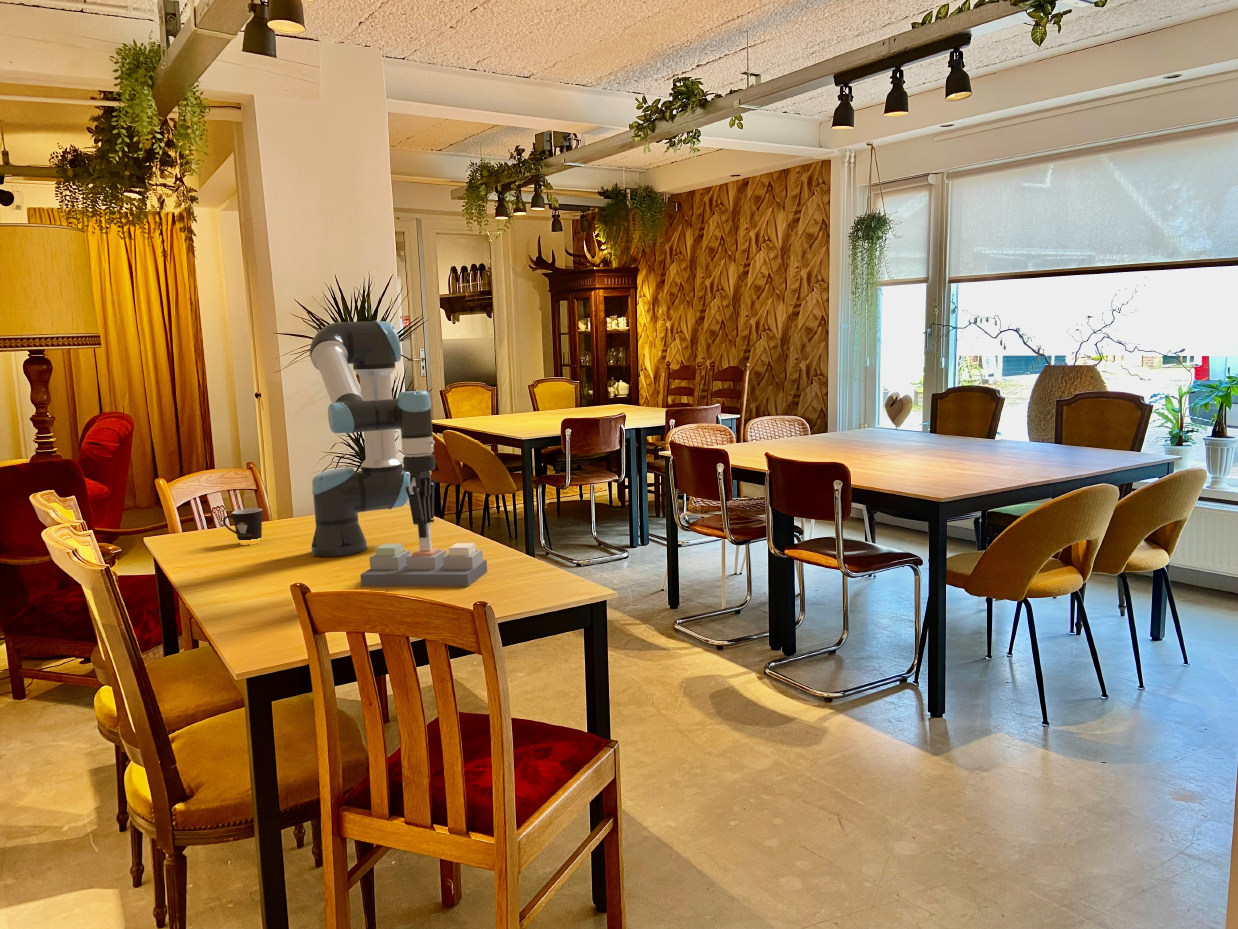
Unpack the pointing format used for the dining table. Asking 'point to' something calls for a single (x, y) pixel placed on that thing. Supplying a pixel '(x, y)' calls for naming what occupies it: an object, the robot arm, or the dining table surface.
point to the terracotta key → (426, 552)
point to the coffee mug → (247, 523)
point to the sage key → (389, 550)
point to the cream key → (462, 549)
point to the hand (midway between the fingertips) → (426, 549)
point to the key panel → (424, 570)
